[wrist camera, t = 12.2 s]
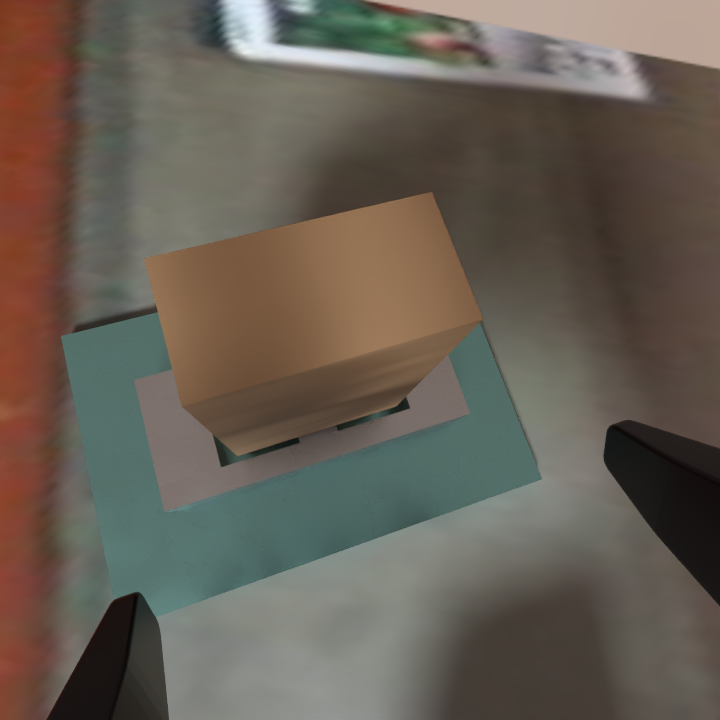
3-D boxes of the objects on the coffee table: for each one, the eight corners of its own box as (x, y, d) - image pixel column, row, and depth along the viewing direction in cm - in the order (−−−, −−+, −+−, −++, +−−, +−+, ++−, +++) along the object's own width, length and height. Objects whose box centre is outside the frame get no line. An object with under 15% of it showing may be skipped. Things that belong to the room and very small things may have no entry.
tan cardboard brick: (359, 357, 24) (431, 191, 11) (381, 421, 23) (483, 319, 11) (227, 396, 22) (144, 258, 10) (246, 463, 22) (181, 405, 9)
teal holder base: (443, 248, 27) (462, 213, 23) (534, 479, 24) (570, 475, 21) (68, 341, 23) (33, 315, 20) (126, 624, 20) (95, 646, 17)
